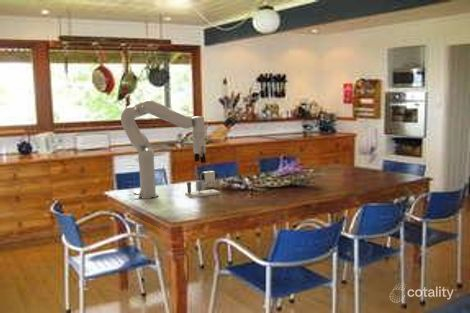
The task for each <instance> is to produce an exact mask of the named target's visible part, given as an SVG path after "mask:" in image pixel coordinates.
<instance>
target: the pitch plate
mask: <svg viewBox="0 0 470 313" xmlns="http://www.w3.org/2000/svg"><path fill="white" fill-rule="evenodd" d="M186 186H187V192H185V193H184V194H185V196H186V197H188V198H193V199H194V198H199V197H206V196H207V197H208V196H214V195H220V194H221V193H220V191H218V190H216V189H206V190H205V189H204V190H203V191H200V192H199V191H197V190H195V191H192V183H191V181H187V182H186Z"/></svg>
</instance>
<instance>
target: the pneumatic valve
mask: <svg viewBox="0 0 470 313" xmlns="http://www.w3.org/2000/svg"><path fill="white" fill-rule="evenodd" d="M217 179H218V173H217V172H216V171H215V170H210V169H209V170H207V171H201V172H200V174H199V181H202V182H204V186H205V188H213V186H214V183H213V181H217Z"/></svg>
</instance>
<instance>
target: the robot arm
mask: <svg viewBox="0 0 470 313" xmlns="http://www.w3.org/2000/svg"><path fill="white" fill-rule="evenodd" d="M148 114H149V115H151V116H154V117H156V118H158V119H161V120H163V121H166V122H168V123H171V124H173V125H175V126H178V127H180V128H182V129H185V130H188V129H190V128H192V138H193V139H192V152H193V153H194V154H193V155H194V162H200V163H201V164H204V163H207V162H206V160H207V159H206V154H207V150H206V141H205V138H206V131H205V130H206V129H205V118H204V116H203V115H201V116H199V115H196V116H187V115H184V114H181V113H180V112H179V113H178V112H177V111H175V110H173V109H172V108H170V107H169V106H166V105H164V104H161V103H159V102H156V101H154V100H153V99H149V98H148V99H145V100H144V101H142V102H137V103H136V104H132V105H128V106H127V107H125V108H124V109H123V111H122V113H121V116H120V122H121V123H120V124H121V126H122V128H123V130H124V132H125V135H126V136H127V137H128V140H129V142H130V144H131V145H132V146H133V147H134V148H135V149H136V151H137V153H138V157H137V158H138V166H139V168H138V169H139V182H140V183H139V184H140V189H139V190H138V191H135V192H133V196H138V198H139V197H143V198H142V199H145V198H146V199H152V198H151V197H155V198H157V197H156V196H158V197H159V194H158V193H156V192H157V190H156V175H155V173H156V170H155V150H154V148H153V147H152V144H151V143H150V141H149V139H148V137H147V136H146V135H145V133H143V132H141V130H140V128H139V127H138V125H137V123H136V119H137V118H140V117H143V116H146V115H148Z"/></svg>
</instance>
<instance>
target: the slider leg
mask: <svg viewBox="0 0 470 313" xmlns="http://www.w3.org/2000/svg"><path fill="white" fill-rule="evenodd" d="M195 183H196V184H195V189H196V190H195V191H199V192H200V191H204V190H203V181H202V180H195Z"/></svg>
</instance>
